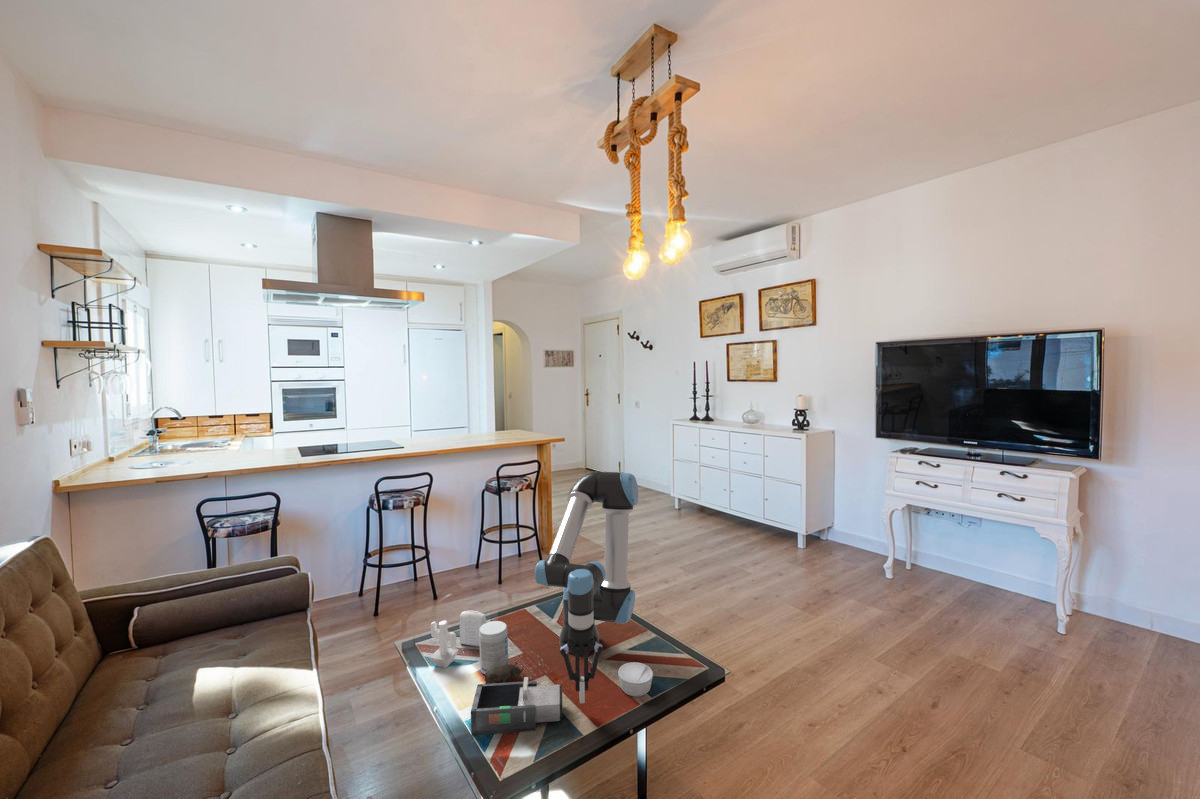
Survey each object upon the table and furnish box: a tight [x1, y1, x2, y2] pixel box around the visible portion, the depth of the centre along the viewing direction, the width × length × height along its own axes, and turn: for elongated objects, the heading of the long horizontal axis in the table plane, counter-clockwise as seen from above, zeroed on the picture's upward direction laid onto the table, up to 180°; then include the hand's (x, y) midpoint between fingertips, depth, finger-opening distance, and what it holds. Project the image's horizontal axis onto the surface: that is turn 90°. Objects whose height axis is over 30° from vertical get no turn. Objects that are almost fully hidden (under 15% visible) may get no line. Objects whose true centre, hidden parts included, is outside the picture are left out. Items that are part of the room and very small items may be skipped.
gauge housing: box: [470, 680, 538, 736], centre depth 145 cm, size 18×12×7 cm
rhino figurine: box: [484, 661, 525, 684], centre depth 162 cm, size 4×14×6 cm, turn 117°
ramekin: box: [617, 661, 654, 697], centre depth 159 cm, size 11×11×5 cm
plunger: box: [518, 676, 564, 723], centre depth 146 cm, size 13×9×9 cm
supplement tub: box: [478, 620, 509, 675], centre depth 169 cm, size 10×10×15 cm
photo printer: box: [459, 610, 487, 647], centre depth 185 cm, size 10×4×12 cm, turn 76°
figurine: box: [428, 619, 460, 669], centre depth 173 cm, size 7×9×15 cm
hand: (582, 700), depth 147 cm, fingers closed
